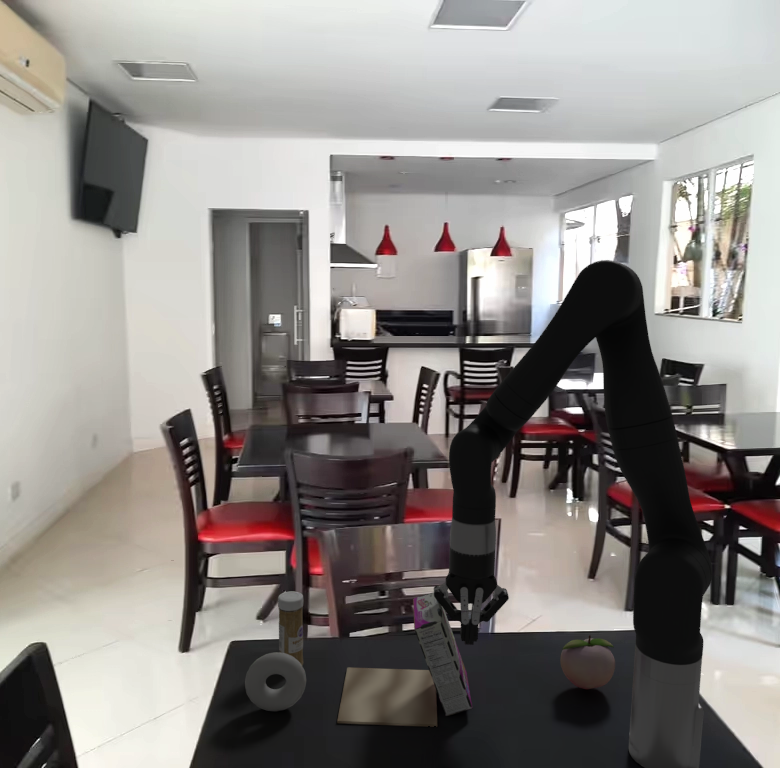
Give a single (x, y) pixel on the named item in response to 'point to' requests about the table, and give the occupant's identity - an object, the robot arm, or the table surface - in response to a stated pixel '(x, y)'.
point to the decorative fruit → (588, 662)
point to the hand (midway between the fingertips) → (469, 642)
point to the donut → (275, 697)
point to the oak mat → (388, 697)
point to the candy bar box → (441, 654)
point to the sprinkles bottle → (291, 624)
